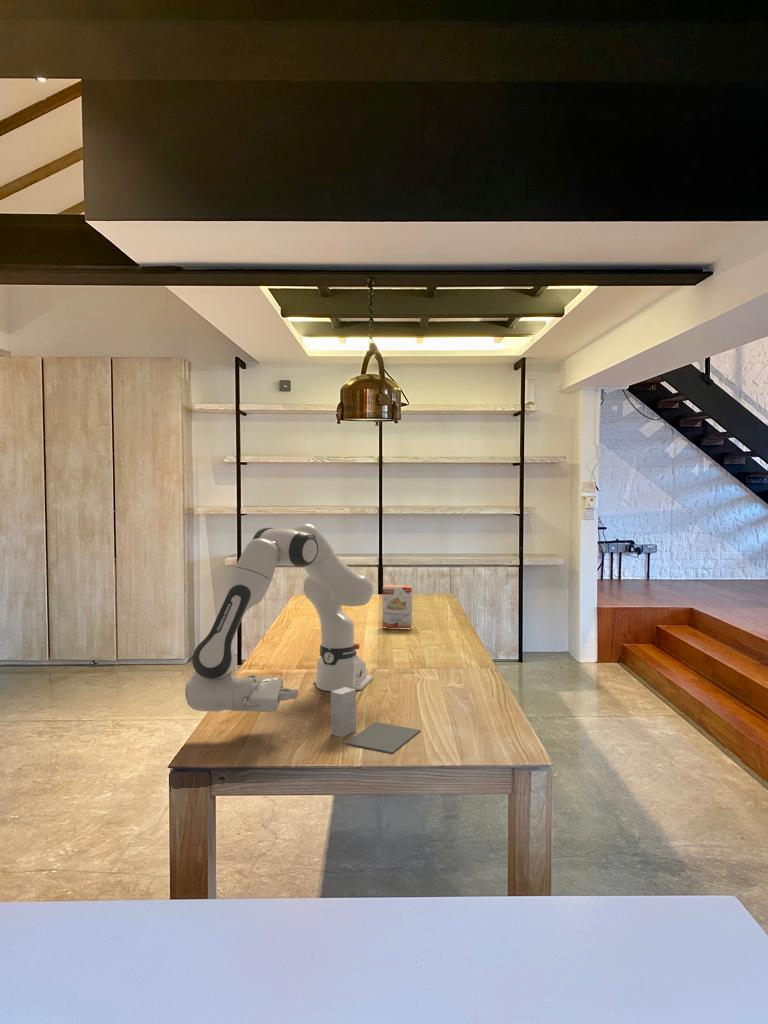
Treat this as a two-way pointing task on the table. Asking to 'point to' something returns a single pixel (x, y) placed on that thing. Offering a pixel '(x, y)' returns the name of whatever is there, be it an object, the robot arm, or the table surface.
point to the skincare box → (343, 712)
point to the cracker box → (397, 606)
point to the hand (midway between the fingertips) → (297, 694)
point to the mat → (383, 737)
